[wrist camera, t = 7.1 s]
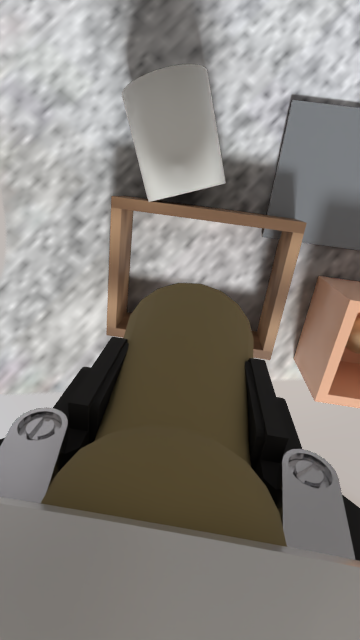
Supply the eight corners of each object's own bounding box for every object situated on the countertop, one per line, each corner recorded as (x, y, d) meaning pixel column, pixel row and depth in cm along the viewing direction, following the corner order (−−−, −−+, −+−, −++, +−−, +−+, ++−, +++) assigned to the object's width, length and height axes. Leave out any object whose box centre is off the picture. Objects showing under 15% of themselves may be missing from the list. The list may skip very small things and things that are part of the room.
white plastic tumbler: (133, 108, 25) (110, 84, 19) (208, 86, 24) (207, 53, 18) (155, 201, 27) (141, 203, 22) (224, 184, 26) (227, 182, 21)
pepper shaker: (272, 374, 15) (400, 762, 5) (161, 412, 16) (80, 771, 6) (221, 259, 13) (257, 502, 3) (101, 315, 15) (-150, 601, 4)
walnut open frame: (125, 195, 27) (111, 196, 24) (293, 218, 27) (306, 222, 23) (118, 318, 32) (106, 335, 28) (263, 340, 31) (270, 360, 27)
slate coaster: (291, 101, 24) (292, 99, 23) (426, 117, 23) (430, 116, 23) (261, 236, 27) (262, 237, 27) (377, 252, 27) (379, 253, 27)
